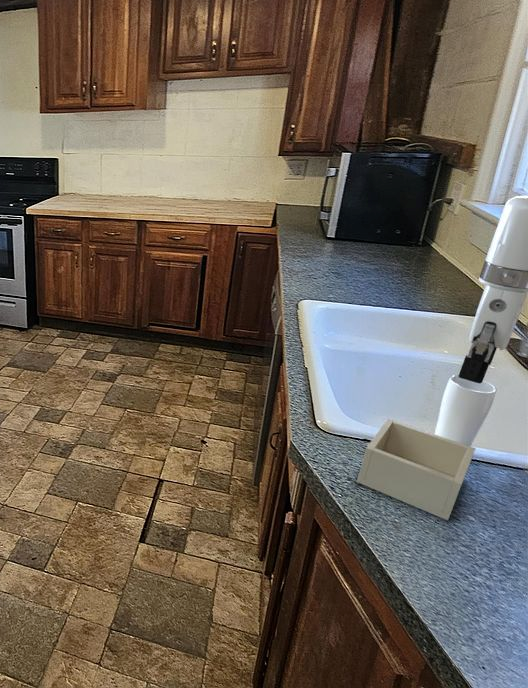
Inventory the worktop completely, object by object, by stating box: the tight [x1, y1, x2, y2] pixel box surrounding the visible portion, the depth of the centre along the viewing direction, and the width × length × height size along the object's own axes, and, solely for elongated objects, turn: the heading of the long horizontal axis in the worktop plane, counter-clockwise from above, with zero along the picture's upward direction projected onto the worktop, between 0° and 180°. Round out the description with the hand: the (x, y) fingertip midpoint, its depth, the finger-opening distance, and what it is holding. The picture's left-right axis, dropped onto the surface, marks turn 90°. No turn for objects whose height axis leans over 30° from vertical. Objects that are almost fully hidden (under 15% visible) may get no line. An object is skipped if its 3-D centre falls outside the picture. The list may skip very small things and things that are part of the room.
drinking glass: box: [434, 374, 497, 447], centre depth 95 cm, size 7×7×15 cm
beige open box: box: [356, 418, 476, 521], centre depth 89 cm, size 13×13×7 cm
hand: (474, 370), depth 91 cm, fingers open, 9 cm apart
